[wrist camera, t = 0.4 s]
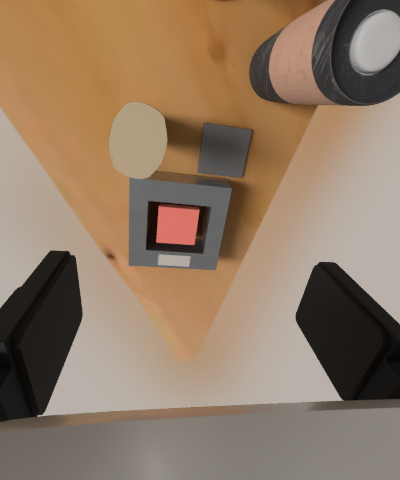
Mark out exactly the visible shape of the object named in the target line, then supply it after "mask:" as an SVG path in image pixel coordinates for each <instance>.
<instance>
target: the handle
mask: <svg viewBox="0 0 400 480" xmlns="http://www.w3.org/2000/svg"><path fill="white" fill-rule="evenodd" d="M166 146H167V130H166V124H165V118H164V116H163V115H162V114H161V113H160V112H159V111H158V110H157V109H156V108H154V107H152V106H150V105H148V104H145V103H140V102H133V103H128V104H126V105H125V106H124V107H123V108H122V110H121V111H120V112H119V114H118V115H117V116H116V118H115V120H114V121H113V124H112V128H111V133H110V139H109V150H110V154H111V158H112V162H113V165H114V167H115V168H116V169H117V170H118V171H119V172H120V173H122V174H123V175H125V176H128V177H130V178H135V179H145V178H149V177H150V176H151V175H152V174H153V173H154V171H155V170H156V169H157V168H158V167H159V165H160V164H161V162H162V160H163V157H164V153H165V150H166Z"/></svg>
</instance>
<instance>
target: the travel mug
mask: <svg viewBox="0 0 400 480" xmlns="http://www.w3.org/2000/svg"><path fill="white" fill-rule="evenodd" d="M249 74H250V82H251V85H252V87H253V89H254V91H255V92H256V94H257V95H258V96H260V97H261V98H263V99H265V100H268V101H274V102H282V103H290V104H302V105H350V106H354V105H355V106H367V105H374V104H378V103H381V102H384V101H386V100H389V99H390V98H392V97H394V96H395V95H397V94H398V93H400V0H327V1H325V2H324V3H322V4H320V5H319V6H317V7H315V8H313V9H312V10H310V11H308V12H307V13H305V14H303V15H302V16H300V17H298V18H297V19H295V20H294V21H292V22H291V23H289V24H288V25H287V26H285V27H284V28H283V29H281V30H280V31H278V32H277V33H276V34H274V35H273V36H272V37H270V38H269V39H267V40H266V41H265V42H264V43H263V44H262V45H261V46H260V47H259V48H258V49H257V50H256V52H255V54H254V56H253V58H252V61H251V64H250V72H249Z"/></svg>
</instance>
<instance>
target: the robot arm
mask: <svg viewBox="0 0 400 480" xmlns="http://www.w3.org/2000/svg"><path fill="white" fill-rule="evenodd" d="M81 320H82V305H81V296H80V288H79V280H78V272H77V264H76V258H75V256H74V255H70V252H68V251H50V252H49V253H48V254H47V255H46V257H45V258H44V259H43V260H42V262H41V263H40V264H39V265H38V267H37V268H36V269H35V270H34V272H33V273H32V274H31V275H30V277H29V278H28V279H27V280H26V282H25V283H24V284H23V285H22V287H19V288H17V289H16V290H15V291H14V292H13V294H12V295H11V296H10V297H9V298H8V300H7V301H6V302H5V303H4V305H3V306H2V307H1V308H0V480H400V324H399V323H398V322H397V321H396V320H395V319H394V318H393V317H392V316H390V315H389V314H388V313H387V312H386V311H385V310H384V309H383V308H382V307H381V306H380V305H379V304H378V303H377V302H376V301H375V300H374V299H373V298H372V297H371V296H370V295H369V294H367V293H366V292H365V291H364V290H363V289H362V288H361V287H360V286H359V285H358V284H357V283H356V282H355V281H354V280H353V279H352V278H351V277H350V276H349V275H348V274H347V273H345V271H344V270H343V269H341V268H340V267H339V266H338V265H337V264H336V263H333V262H319V263H318V265H316V266H314V268H313V270H312V273H311V275H310V278H309V281H308V283H307V286H306V289H305V291H304V294H303V297H302V299H301V302H300V304H299V307H298V310H297V312H296V321H297V324H298V325H299V327H300V329H301V331H302V332H303V334H304V336H305V337H306V339H307V341H308V343H309V344H310V346H311V348H312V349H313V351H314V353H315V354H316V356H317V358H318V360H319V361H320V363H321V365H322V366H323V368H324V370H325V372H326V374H327V375H328V377H329V379H330V380H331V382H332V384H333V385H334V387H335V389H336V390H337V392H338V394H339V396H340V397H341V398H342V400H344V401H327V402H301V403H278V404H255V405H233V406H211V407H190V408H170V409H150V410H130V411H111V412H96V413H81V414H68V415H67V414H66V415H52V416H41V417H37V415H42V414H43V413H44V412H45V410H46V408H47V405H48V403H49V400H50V398H51V395H52V393H53V390H54V388H55V385H56V383H57V380H58V378H59V375H60V373H61V371H62V368H63V366H64V363H65V361H66V358H67V356H68V353H69V351H70V348H71V345H72V343H73V340H74V338H75V336H76V333H77V331H78V328H79V325H80V323H81Z"/></svg>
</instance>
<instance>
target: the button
mask: <svg viewBox="0 0 400 480" xmlns="http://www.w3.org/2000/svg"><path fill="white" fill-rule="evenodd" d="M199 211H200V210H199V207H192V206H181V205H170V204H160V203H159V208H158V224H157V239H156V243H170V244H185V245H195V238H196V231H197V224H198V218H199Z"/></svg>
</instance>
